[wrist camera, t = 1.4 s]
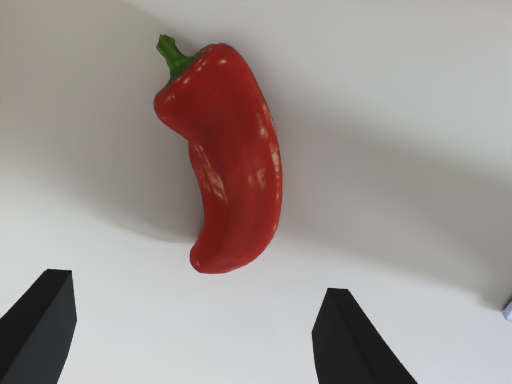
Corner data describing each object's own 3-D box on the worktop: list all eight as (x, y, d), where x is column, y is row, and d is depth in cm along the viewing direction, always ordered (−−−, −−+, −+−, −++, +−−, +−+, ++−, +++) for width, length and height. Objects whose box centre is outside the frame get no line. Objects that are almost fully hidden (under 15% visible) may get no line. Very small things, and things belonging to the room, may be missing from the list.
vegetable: (83, 61, 14) (181, 286, 21) (231, 62, 12) (281, 309, 19) (153, 12, 17) (217, 224, 24) (280, 6, 15) (306, 238, 23)
